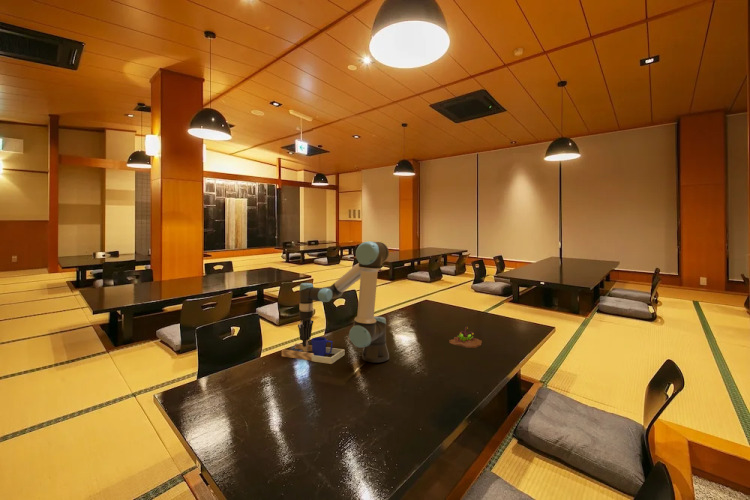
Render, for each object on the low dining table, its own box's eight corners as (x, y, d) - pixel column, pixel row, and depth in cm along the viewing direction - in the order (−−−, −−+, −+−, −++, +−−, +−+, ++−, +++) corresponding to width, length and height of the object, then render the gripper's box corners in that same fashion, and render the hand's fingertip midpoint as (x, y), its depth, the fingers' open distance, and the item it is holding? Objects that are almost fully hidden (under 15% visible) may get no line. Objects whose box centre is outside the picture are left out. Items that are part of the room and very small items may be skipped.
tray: (344, 354, 184) (344, 349, 184) (331, 363, 169) (331, 358, 169) (326, 352, 188) (326, 347, 188) (311, 361, 173) (311, 355, 173)
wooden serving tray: (325, 352, 187) (325, 346, 187) (312, 360, 174) (312, 354, 174) (296, 349, 195) (296, 343, 195) (281, 356, 181) (281, 350, 181)
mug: (330, 360, 175) (330, 341, 175) (309, 358, 177) (309, 340, 177) (334, 355, 183) (334, 337, 183) (314, 354, 186) (314, 336, 186)
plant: (486, 343, 208) (486, 326, 209) (476, 351, 192) (476, 332, 192) (456, 338, 220) (456, 322, 220) (444, 345, 204) (444, 327, 204)
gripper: (306, 307, 192) (306, 347, 192) (293, 311, 179) (293, 354, 179) (317, 308, 189) (317, 349, 189) (305, 312, 177) (304, 355, 177)
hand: (305, 351), depth 184 cm, fingers closed
